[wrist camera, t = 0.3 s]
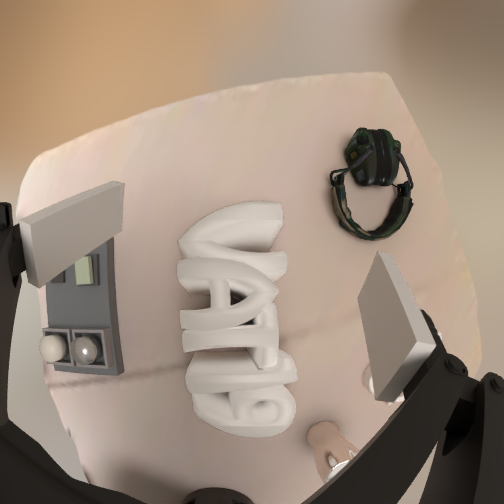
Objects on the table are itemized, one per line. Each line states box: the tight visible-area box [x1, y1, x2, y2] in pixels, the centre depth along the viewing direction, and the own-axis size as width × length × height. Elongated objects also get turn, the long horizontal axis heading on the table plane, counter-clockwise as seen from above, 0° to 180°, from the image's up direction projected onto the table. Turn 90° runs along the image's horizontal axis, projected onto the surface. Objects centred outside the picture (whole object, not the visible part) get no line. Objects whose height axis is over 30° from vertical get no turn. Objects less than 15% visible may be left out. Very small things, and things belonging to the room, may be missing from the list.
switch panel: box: [42, 237, 124, 376], centre depth 44 cm, size 24×14×6 cm, turn 5°
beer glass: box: [307, 421, 359, 484], centre depth 38 cm, size 7×7×15 cm
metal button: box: [70, 336, 101, 365], centre depth 40 cm, size 4×4×3 cm
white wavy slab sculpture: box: [177, 201, 298, 438], centre depth 42 cm, size 35×16×10 cm, turn 1°
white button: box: [39, 335, 68, 362], centre depth 39 cm, size 4×4×3 cm
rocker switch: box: [75, 256, 94, 285], centre depth 43 cm, size 4×3×1 cm, turn 5°
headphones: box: [330, 128, 413, 241], centre depth 47 cm, size 13×13×20 cm
